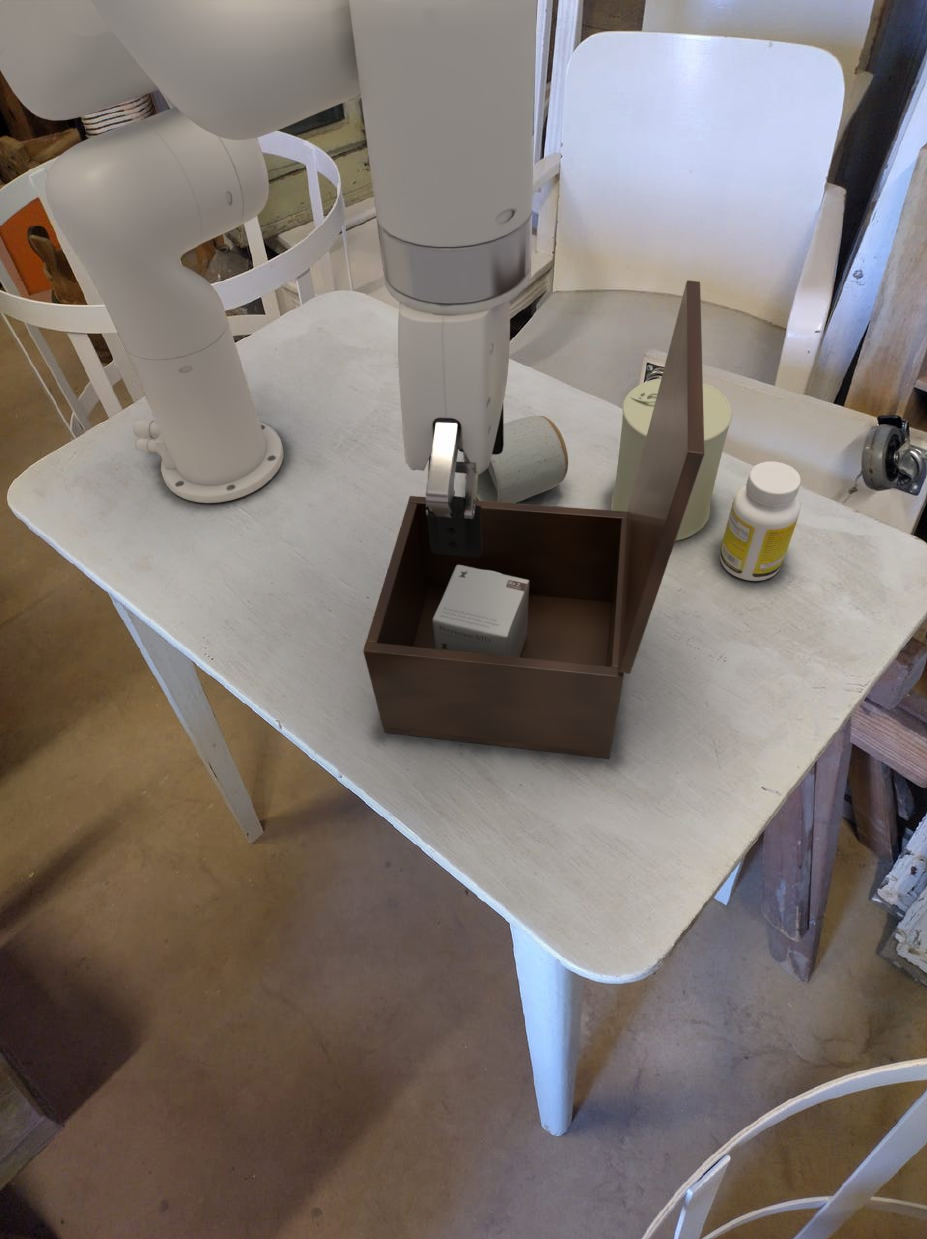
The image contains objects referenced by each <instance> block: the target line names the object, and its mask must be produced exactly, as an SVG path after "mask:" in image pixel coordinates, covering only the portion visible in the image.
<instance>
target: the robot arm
mask: <svg viewBox="0 0 927 1239" xmlns="http://www.w3.org/2000/svg"><path fill="white" fill-rule="evenodd" d="M537 15H538V0H0V72H1V74H2V76H3V78H4V79H5V81H6V82H7V84H8V86H9V87H10V88H11V91H12V92H13V94H14V95H15V97H17V99H18V100H19V101H20V103H21V104H22V105H23V106H24V107H25V108H26V109H27V110H28V111H30V113H31V114H32V115H33V114H34V115H35V116H36V117H39V118H41V119H44V120H49V121H67V120H72V119H77V118H81V117H85V116H88V115H91V114H94V113H97V112H101V111H104V110H106V109H109V108H112V107H115V106H118V105H120V104H123V103H126V102H128V101H132V100H135V99H137V98H140V97H143V96H146V95H148V94H151V93H154V92H157V91H158V92H160V94H161V95H162V97H163V98H164V100H165V102H166V103H167V105H168V107H169V109H166V110H163V111H161V112H158V113H156V114H154V115H150V116H148V117H145V118H142V119H139V120H134V121H132V122H128V123H126V124H123V125H121V126H118V127H116V128H115V127H114V128H112V129H109V130H108V131H105V132H101V133H100V134H97V135H94V136H92V137H88V138H86V139H85V140H82V141H81V142H78V143H76V144H75V145H73V146H71V147H70V148H68V149H67V150H65V151H64V152H62V153H61V154H60V155H59V156H58V157H57V158H56V159H55V161H54V162H53V163H52V164H51V166H50V167H49V170H48V171H47V175H46V179H45V196H46V200H47V203H48V208H49V209H50V211H51V213H52V216H53V218H54V220H55V222H56V224H57V226H58V227H59V229H60V231H61V232H62V235H63V236H64V237H65V238H66V240H67V242H68V243H69V245H70V247H71V248H72V250H73V252H74V253H75V255H76V256H77V258H78V260H79V261H80V263H81V265H82V266H83V268H84V270H85V271H86V272H87V274H88V276H89V278H90V280H91V281H92V283H93V285H94V287H95V288H96V290H97V292H98V295H99V296H100V298H101V301H102V302H103V304H104V306H105V308H106V310H107V313H108V315H109V318H110V319H111V321H112V323H113V326H114V329H115V330H116V333H117V335H118V337H119V340H120V342H121V344H122V347H123V348H124V351H125V353H126V355H127V357H128V360H129V362H130V365H131V367H132V369H133V371H134V374H135V377H136V378H137V381H138V383H139V386H140V388H141V390H142V392H143V395H144V397H145V399H146V402H147V404H148V406H149V408H150V411H151V413H152V415H153V418H154V420H151V419H150V420H149V419H148V420H147V419H136V420H135V421H134V423H133V434H134V436H135V437H136V438H137V439H136V441H135V449H136V450H137V452H139V453H140V452H141V453H157V454H158V455H159V456H160V457H161V459H162V460H161V464H160V471H161V475H162V478H163V480H164V482H165V484H166V486H167V487H168V488H169V490H170V491H171V492H172V493H173V494H175V495H176V496H178V497H180V498H182V499H184V500H185V501H190V502H195V503H201V504H203V503H204V504H216V503H223V502H229V501H234V500H237V499H241V498H243V497H246V496H248V495H250V494H252V493H254V492H255V491H257V490H259V489H261V488H262V487H264V486H265V485H266V484H267V483H269V482H270V480H272V479H273V478H274V476H275V475H276V474H277V473H278V472H279V470H280V468H281V466H282V464H283V461H284V455H285V454H284V446H283V443H282V439H281V438H280V436H279V434H278V433H277V431H276V430H274V428H273V427H271V426H269V425H268V424H266V423H264V422H261V421H260V419H259V415H258V412H257V409H256V405H255V402H254V399H253V397H252V392H251V390H250V386H249V383H248V380H247V377H246V374H245V371H244V367H243V364H242V360H241V357H240V354H239V351H238V348H237V344H236V342H235V339H234V335H233V332H232V329H231V325H230V322H229V319H228V316H227V313H226V310H225V307H224V303H223V301H222V298H221V297H220V295H219V293H218V291H217V290H216V289H215V287H214V286H213V285H212V284H211V283H210V282H209V281H208V280H207V279H205V278H204V277H202V276H201V275H200V274H199V273H197V272H196V271H194V270H192V269H190V268H189V267H187V266H184V265H183V264H182V263H181V258H182V257H183V255H185V254H187V253H188V252H189V251H191V250H193V249H196V248H198V247H199V246H200V245H202V244H204V243H206V242H209V241H211V240H212V239H215V238H217V237H219V236H222V235H224V234H226V233H228V232H230V231H232V230H235V229H237V228H239V227H240V226H242V225H245V224H246V223H248V222H250V221H252V220H253V219H255V218H256V217H257V216H259V215H260V214H261V212H262V211H263V210H264V209H265V207H266V204H267V203H268V199H269V194H270V181H269V174H268V169H267V165H266V160H265V158H264V154H263V149H262V147H261V145H260V142H259V139H258V138H260V137H264V136H266V135H268V134H272V133H274V132H277V131H280V130H282V129H284V128H287V127H289V126H292V125H293V124H296V123H298V122H300V121H303V120H305V119H307V118H310V117H312V116H314V115H317V114H319V113H322V112H324V111H327V110H329V109H331V108H334V107H336V106H338V105H341V104H344V103H346V102H352V101H355V100H358V99H361V107H362V114H363V115H362V116H363V122H364V123H363V124H364V130H365V138H366V139H365V140H366V145H367V154H368V162H369V170H370V178H371V186H372V187H371V188H372V194H373V197H374V202H373V203H374V210H375V217H376V225H377V234H378V242H379V248H380V249H379V250H380V257H381V264H382V272H383V278H384V285H385V288H386V290H387V292H388V293H389V294H390V296H391V297H392V298H393V299H395V300H396V301H397V302H398V321H397V362H398V363H397V364H398V365H397V366H398V384H399V398H400V399H399V400H400V409H401V410H400V412H401V414H400V415H401V426H402V439H403V440H402V441H403V450H404V451H403V452H404V460H405V463H406V465H407V467H408V468H409V469H410V470H411V471H422V472H424V471H425V469H426V467H427V465H428V468H427V481H426V487H425V488H426V489H425V497H426V514H427V521H428V530H429V539H430V548H431V551H432V552H433V553H435V554H441V555H452V556H462V557H473V558H478V557H480V556H481V553H482V548H483V547H482V520H481V506H477V505H476V501H477V496H476V495H477V481H478V475H479V474H481V473H482V472H484V471H485V470H486V469H487V468H488V466H489V464H490V460H491V456H492V454H494V455H498V454H501V453H502V451H503V447H504V424H505V422H504V419H505V418H504V414H505V413H504V401H505V396H506V390H507V383H508V375H509V363H510V347H511V346H510V345H511V344H510V343H511V301H512V300H514V299H515V298H517V297H518V296H520V295H521V293H522V292H523V291H524V290H525V289H526V288H527V287H528V285H529V283H530V281H531V277H532V251H533V250H532V249H533V248H532V247H533V246H532V245H533V244H532V243H533V197H534V196H533V194H534V193H533V188H534V156H535V153H534V152H535V151H534V149H535V107H536V106H535V104H536V103H535V100H536V63H537V62H536V61H537V60H536V57H537V56H536V55H537V21H538V20H537V19H538V18H537ZM459 452H461V453H463V452H465V454H466V456H467V458H468V459H469V461H470V462H464V461H458V455H459ZM456 474H465V485H464V486H465V487H464V496H458V495H457V496H456V495H455V494H456V490H455V477H456Z"/></svg>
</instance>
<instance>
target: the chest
mask: <svg viewBox="0 0 927 1239" xmlns="http://www.w3.org/2000/svg"><path fill="white" fill-rule="evenodd" d="M476 505H477V506H481V520H482V547H483V548H482V553H481V556H480V557H478V558H473V557H462V556H452V555H441V554H435V553H433V552H432V551H431V548H430V539H429V530H428V521H427V514H426V496H419V495H409V496H408V500H407V504H406V508H405V511H404V515H403V517H402V521H401V524H400V528H399V530H398V534H397V537H396V540H395V544H394V548H393V551H392V554H391V557H390V561H389V564H388V568H387V570H386V574H385V577H384V581H383V583H382V587H381V589H380V590H381V591H380V594H379V597H378V600H377V604H376V607H375V610H374V614H373V617H372V621H371V624H370V626H369V630H368V634H367V637H366V640H365V643H364V646H363V650H362V653H363V656H364V660H365V664H366V667H367V671H368V676H369V679H370V683H371V687H372V691H373V694H374V695H373V696H374V698H375V704H376V705H377V710H378V714H379V717H380V722H381V726H382V729H383V732H384V733H388V734H396V735H406V736H411V737H412V736H414V737H420V738H421V737H422V738H430V739H431V738H432V739H439V740H448V741H457V742H463V743H474V744H482V745H491V746H499V747H505V748H516V749H525V750H533V751H542V752H549V753H559V754H567V755H576V756H585V757H593V758H600V759H610V758H611V755H612V754H611V753H612V749H613V743H614V737H615V732H616V726H617V718H618V714H619V707H620V701H621V696H622V695H621V694H622V690H623V684H624V678H625V673H621V672H619V671H618V670H619V653H620V636H621V620H622V603H623V586H624V569H625V553H626V536H627V519H628V512H625V511H612V509H611V510H609V509H598V508H597V509H596V508H582V507H571V506H570V507H569V506H568V507H567V506H556V505H555V506H554V505H540V504H528V503H527V504H525V503H501V502H487V501H479V500H476ZM457 565H463V566H468V567H473V568H477V569H482V570H490V571H495V572H499V573H501V574H504V575H509V576H513V577H517V578H521V579H526V580H529V600H528V624H527V637H526V640H525V643H524V646H523V649H522V652H521V655H520V657H510V656H500V655H490V654H480V653H470V652H460V651H450V650H440V649H436V647H435V638H434V629H433V617H434V615H435V613H436V611H437V609H438V607H439V604H440V602H441V600H442V598H443V595H444V593H445V591H446V588H447V586H448V583H449V581H450V579H451V576H452V574H453V572H454V570H455V567H456V566H457Z"/></svg>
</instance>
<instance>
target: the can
mask: <svg viewBox="0 0 927 1239" xmlns="http://www.w3.org/2000/svg"><path fill="white" fill-rule="evenodd" d="M661 378H662V377H659V378H654V379H651V380H646V381H645V382H642V383H640V384H638V385H637V386H635V387H634V388H633V389H631V391H629V392H628V393H627V395H626V396H625V398H624V400H623V402H622V419H621V430H620V440H619V450H618V459H617V466H616V474H615V485H614V490H613V494H612V497H611V502H610V508H611V510H612V511H625V512H628V506H629V502H630V498H631V494H632V490H633V486H634V483H635V479H636V475H637V471H638V467H639V463H640V459H641V456H642V452H643V448H644V444H645V440H646V436H647V432H648V428H649V425H650V421H651V417H652V413H653V409H654V405H655V401H656V398H657V394H658V390H659V386H660V382H661ZM703 415H704V457H703V460H702V463H701V466H700V469H699V472H698V475H697V478H696V481H695V484H694V487H693V490H692V493H691V496H690V499H689V502H688V505H687V508H686V511H685V513H684V516H683V519H682V522H681V525H680V528H679V531H678V534H677V537H676V540H675V542H678V541H681V540H685V539H688V538H690V537H692V536H694V535H696V534H698V532H700V531H701V530H702V529H703V528H704V526H706V524H707V523H708V520H709V517H710V512H711V508H710V506H711V501H712V500H711V499H712V496H713V492H714V487H715V483H716V480H717V476H718V472H719V466H720V463H721V459H722V455H723V450H724V447H725V443H726V439H727V435H728V432H729V429H730V428H729V427H730V425H731V423H732V420H733V408H732V405H731V403H730V401H729V400H728V398H727V397H726V396H725V394H723V392H722V391H720V390H719V389H717V388H716V387H714V386H712V385H710V384H708V383H706V382H703Z"/></svg>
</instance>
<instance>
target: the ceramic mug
mask: <svg viewBox="0 0 927 1239" xmlns="http://www.w3.org/2000/svg"><path fill="white" fill-rule="evenodd" d="M462 456H463V462H470V461H469V459H468V458H467V456H466V454H465V452H462ZM568 469H569V454H568V449H567V445H566V442H565V440H564V437H563V435H562V433H561V431H560V429H559V428H558V426H557V425H556V423H554V422H553V421H552V420H551V419H549V418H548V417H546V416H543V415H532V416H525V417H521V418H518V419H514V420H511V421H509V422H504V447H503V451H502V453H501V454H498V455H494V454H492V456H491V460H490V464H489V466H488V468H487V469H486V470H485V471H484V472H482V473H481V474H479V475H478V481H477V495H476V499H477V501H487V502H501V503H515V504H518V503H519V502H521V501H524V500H526V499H529V498H531V497H534V496H537V495H540V494H543V493H544V492H547V491H549V490H552V489H553V488H555V487H557V486H558V485H559V484H561V483H562V482H563V481H564V480H565V478H566V475H567V473H568Z"/></svg>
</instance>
